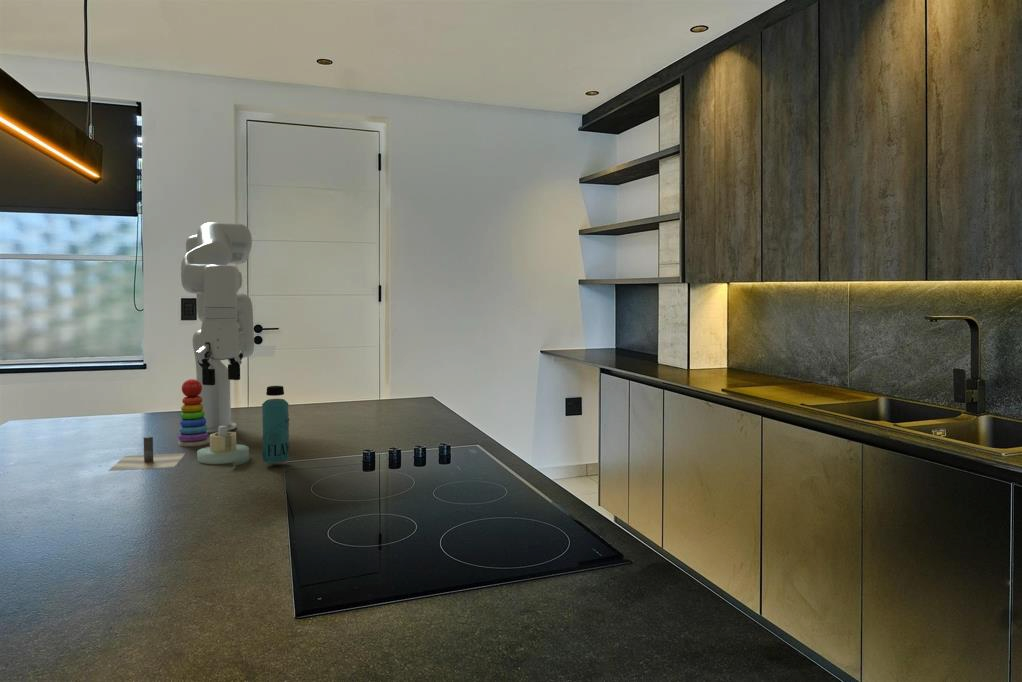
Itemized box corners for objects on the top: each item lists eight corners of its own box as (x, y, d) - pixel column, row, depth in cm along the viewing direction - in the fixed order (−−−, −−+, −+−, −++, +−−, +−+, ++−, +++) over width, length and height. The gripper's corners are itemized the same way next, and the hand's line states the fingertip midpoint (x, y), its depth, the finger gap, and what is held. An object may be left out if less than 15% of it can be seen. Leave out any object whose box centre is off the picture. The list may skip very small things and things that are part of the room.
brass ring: (220, 446, 170) (220, 431, 169) (241, 447, 168) (240, 432, 168) (204, 451, 164) (204, 435, 163) (225, 453, 162) (225, 437, 162)
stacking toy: (215, 443, 185) (214, 378, 184) (199, 450, 177) (197, 381, 176) (189, 442, 186) (187, 377, 184) (171, 449, 178) (170, 380, 177)
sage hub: (201, 456, 170) (201, 422, 170) (251, 454, 174) (250, 421, 173) (193, 469, 159) (192, 432, 158) (246, 466, 162) (245, 430, 161)
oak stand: (125, 460, 166) (124, 432, 166) (185, 456, 170) (185, 430, 169) (108, 474, 153) (107, 445, 152) (174, 471, 157) (173, 442, 156)
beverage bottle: (263, 470, 159) (262, 388, 157) (260, 463, 165) (259, 384, 163) (291, 467, 162) (291, 387, 160) (287, 461, 168) (286, 383, 166)
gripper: (229, 313, 173) (230, 377, 174) (183, 315, 156) (184, 386, 157) (255, 313, 171) (255, 378, 172) (210, 316, 154) (211, 387, 156)
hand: (221, 382), depth 165 cm, fingers open, 9 cm apart
